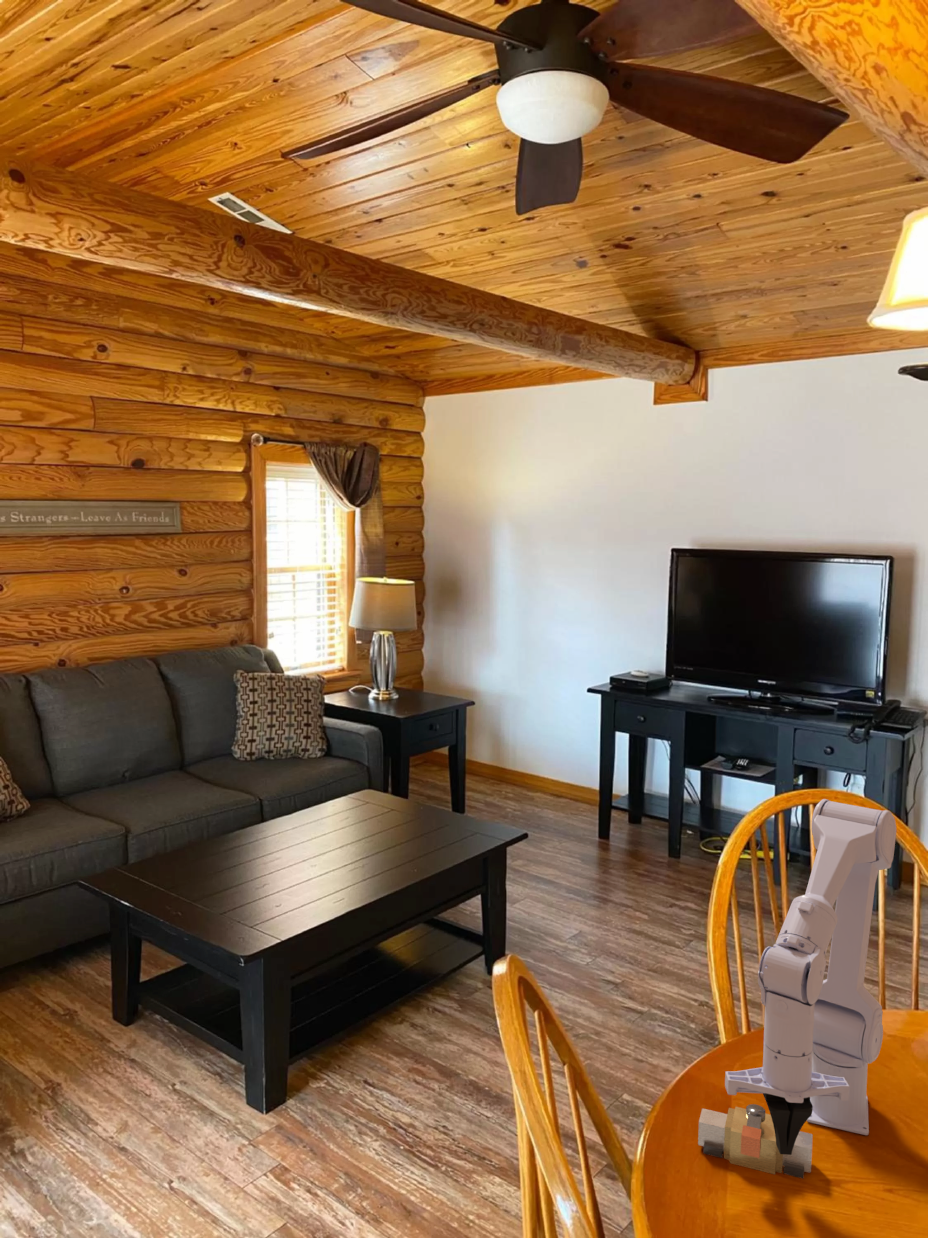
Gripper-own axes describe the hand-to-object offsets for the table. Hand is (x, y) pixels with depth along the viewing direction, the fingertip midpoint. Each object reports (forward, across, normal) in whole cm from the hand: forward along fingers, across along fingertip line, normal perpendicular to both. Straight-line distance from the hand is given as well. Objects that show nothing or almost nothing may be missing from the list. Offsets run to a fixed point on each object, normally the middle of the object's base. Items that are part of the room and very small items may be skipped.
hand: (783, 1149), depth 115 cm
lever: (0, -3, +3) cm, 4 cm away
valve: (+5, -2, +6) cm, 8 cm away
